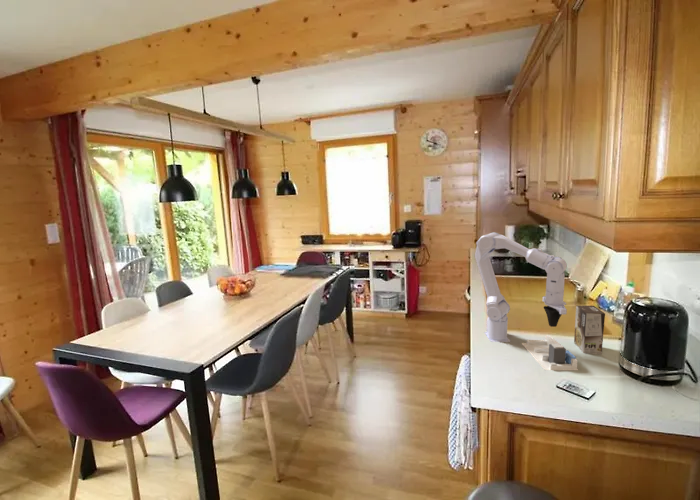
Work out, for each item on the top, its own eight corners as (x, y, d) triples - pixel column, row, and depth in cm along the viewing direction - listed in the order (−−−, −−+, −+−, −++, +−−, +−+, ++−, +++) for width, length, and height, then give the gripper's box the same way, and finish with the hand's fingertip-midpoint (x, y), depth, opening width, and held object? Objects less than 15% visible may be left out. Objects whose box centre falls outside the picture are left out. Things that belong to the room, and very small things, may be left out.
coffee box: (602, 355, 131) (606, 313, 128) (583, 354, 133) (586, 313, 130) (591, 344, 140) (594, 305, 137) (573, 343, 141) (575, 304, 138)
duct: (521, 344, 143) (521, 333, 142) (550, 344, 142) (550, 333, 141) (544, 371, 122) (545, 359, 121) (578, 371, 121) (579, 359, 120)
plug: (548, 361, 128) (549, 342, 127) (559, 361, 127) (560, 342, 126) (553, 366, 124) (554, 347, 123) (564, 366, 124) (565, 347, 122)
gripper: (576, 296, 124) (574, 333, 126) (556, 285, 138) (554, 318, 141) (555, 297, 125) (553, 334, 127) (537, 285, 139) (535, 318, 141)
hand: (552, 325), depth 134 cm, fingers closed
